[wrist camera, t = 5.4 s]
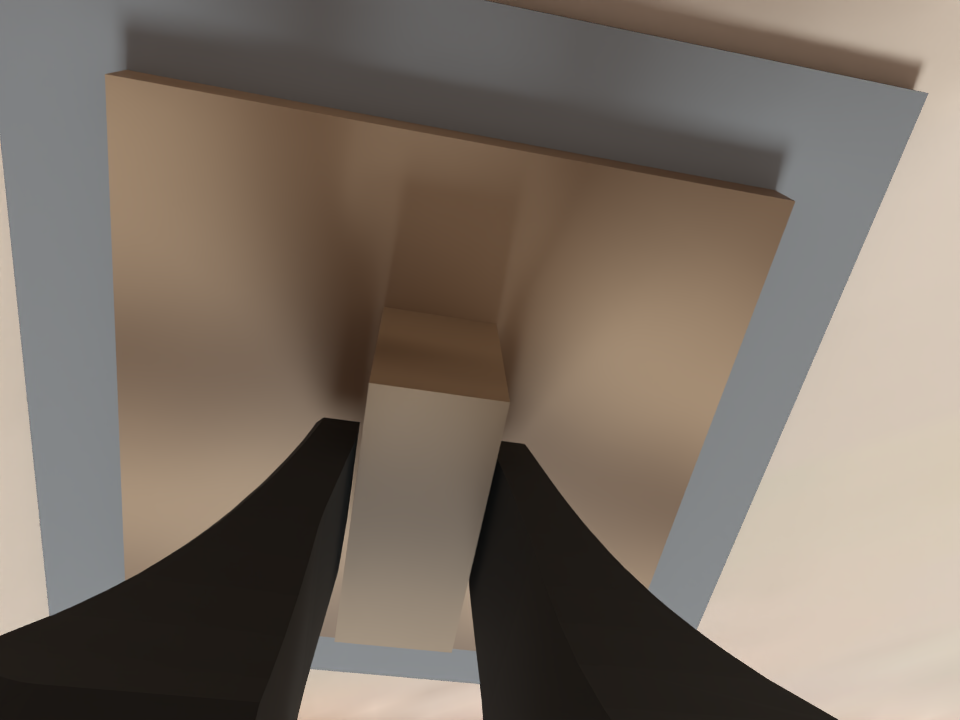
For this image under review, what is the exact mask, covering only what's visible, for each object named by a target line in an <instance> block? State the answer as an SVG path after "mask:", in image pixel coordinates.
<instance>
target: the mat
mask: <svg viewBox="0 0 960 720" xmlns="http://www.w3.org/2000/svg"><path fill="white" fill-rule="evenodd" d="M123 70H130V71H135V72H141V73H146V74H151V75H157V76H162V77H168V78H173V79H178V80H184V81H189V82H195V83H200V84H205V85H211V86H216V87H221V88H227V89H232V90H238V91H243V92H248V93H254V94H259V95H265V96H270V97H275V98H281V99H286V100H292V101H297V102H302V103H308V104H313V105H318V106H324V107H329V108H335V109H340V110H345V111H351V112H356V113H362V114H367V115H372V116H378V117H383V118H389V119H394V120H399V121H405V122H410V123H415V124H421V125H426V126H432V127H437V128H442V129H448V130H453V131H459V132H464V133H469V134H475V135H480V136H486V137H491V138H496V139H502V140H507V141H512V142H518V143H523V144H529V145H534V146H539V147H545V148H550V149H556V150H561V151H566V152H572V153H577V154H583V155H588V156H593V157H599V158H604V159H610V160H615V161H620V162H626V163H631V164H636V165H642V166H647V167H653V168H658V169H663V170H669V171H674V172H680V173H685V174H690V175H696V176H701V177H707V178H712V179H717V180H723V181H728V182H733V183H739V184H744V185H750V186H755V187H760V188H766V189H771V190H776V191H778V192H779V193H781V194H783V195H785V196H787V197H789V198H790V199H792V200H794V201H795V204H794V206H793V209H792V212H791V214H790V217H789V220H788V222H787V225H786V227H785V230H784V233H783V235H782V238H781V241H780V243H779V246H778V249H777V251H776V254H775V256H774V259H773V262H772V264H771V267H770V270H769V272H768V275H767V278H766V280H765V283H764V285H763V288H762V291H761V293H760V296H759V299H758V301H757V304H756V306H755V309H754V312H753V314H752V317H751V320H750V322H749V325H748V328H747V330H746V333H745V335H744V338H743V341H742V343H741V346H740V349H739V351H738V354H737V357H736V359H735V362H734V364H733V367H732V370H731V372H730V375H729V378H728V380H727V383H726V386H725V388H724V391H723V393H722V396H721V399H720V401H719V404H718V407H717V409H716V412H715V415H714V417H713V420H712V422H711V425H710V428H709V430H708V433H707V436H706V438H705V441H704V443H703V446H702V449H701V451H700V454H699V457H698V459H697V462H696V465H695V467H694V470H693V472H692V475H691V478H690V480H689V483H688V486H687V488H686V491H685V494H684V496H683V499H682V501H681V504H680V507H679V509H678V512H677V515H676V517H675V520H674V523H673V525H672V528H671V530H670V533H669V536H668V538H667V541H666V544H665V546H664V549H663V552H662V554H661V557H660V559H659V562H658V565H657V567H656V570H655V573H654V575H653V578H652V580H651V583H650V586H649V588H648V590H649V591H650V592H651V593H652V594H653V595H654V596H656V597H657V598H658V599H659V600H660V601H661V602H663V603H664V604H665V605H666V606H667V607H668V608H670V609H671V610H672V611H673V612H675V613H676V614H677V615H678V616H680V617H681V618H682V619H683V620H685V621H686V622H687V623H689V624H690V625H691V626H692V627H694V628H695V629H696V630H697V628H698V625H699V623H700V621H701V618H702V616H703V614H704V611H705V609H706V607H707V604H708V602H709V600H710V597H711V595H712V593H713V591H714V588H715V586H716V584H717V581H718V579H719V577H720V574H721V572H722V570H723V567H724V565H725V563H726V560H727V558H728V556H729V554H730V551H731V549H732V547H733V544H734V542H735V540H736V537H737V535H738V533H739V530H740V528H741V526H742V523H743V521H744V519H745V517H746V514H747V512H748V510H749V507H750V505H751V503H752V500H753V498H754V496H755V493H756V491H757V489H758V486H759V484H760V482H761V479H762V477H763V475H764V473H765V470H766V468H767V466H768V463H769V461H770V459H771V456H772V454H773V452H774V449H775V447H776V445H777V442H778V440H779V438H780V436H781V433H782V431H783V429H784V426H785V424H786V422H787V419H788V417H789V415H790V412H791V410H792V408H793V405H794V403H795V401H796V399H797V396H798V394H799V392H800V389H801V387H802V385H803V382H804V380H805V378H806V375H807V373H808V371H809V368H810V366H811V364H812V362H813V359H814V357H815V355H816V352H817V350H818V348H819V345H820V343H821V341H822V338H823V336H824V334H825V331H826V329H827V327H828V325H829V322H830V320H831V318H832V315H833V313H834V311H835V308H836V306H837V304H838V301H839V299H840V297H841V294H842V292H843V290H844V287H845V285H846V283H847V281H848V278H849V276H850V274H851V271H852V269H853V267H854V264H855V262H856V260H857V257H858V255H859V253H860V250H861V248H862V246H863V244H864V241H865V239H866V237H867V234H868V232H869V230H870V227H871V225H872V223H873V220H874V218H875V216H876V213H877V211H878V209H879V207H880V204H881V202H882V200H883V197H884V195H885V193H886V190H887V188H888V186H889V183H890V181H891V179H892V176H893V174H894V172H895V170H896V167H897V165H898V163H899V160H900V158H901V156H902V153H903V151H904V149H905V146H906V144H907V142H908V139H909V137H910V135H911V133H912V130H913V128H914V126H915V123H916V121H917V119H918V116H919V114H920V112H921V109H922V107H923V105H924V102H925V100H926V98H927V95H928V93H925V92H920V91H915V90H910V89H906V88H901V87H896V86H891V85H886V84H882V83H877V82H872V81H867V80H863V79H858V78H853V77H848V76H843V75H839V74H834V73H829V72H824V71H820V70H815V69H810V68H805V67H801V66H796V65H791V64H786V63H781V62H777V61H772V60H767V59H762V58H758V57H753V56H748V55H743V54H738V53H734V52H729V51H724V50H719V49H715V48H710V47H705V46H700V45H695V44H691V43H686V42H681V41H676V40H672V39H667V38H662V37H657V36H653V35H648V34H643V33H638V32H633V31H629V30H624V29H619V28H614V27H610V26H605V25H600V24H595V23H590V22H586V21H581V20H576V19H571V18H567V17H562V16H557V15H552V14H548V13H543V12H538V11H533V10H528V9H524V8H519V7H514V6H509V5H505V4H500V3H495V2H490V1H485V0H0V140H1V150H2V159H3V169H4V179H5V189H6V198H7V208H8V218H9V227H10V237H11V247H12V257H13V266H14V276H15V286H16V295H17V305H18V315H19V324H20V334H21V344H22V354H23V363H24V373H25V383H26V392H27V402H28V412H29V422H30V431H31V441H32V451H33V460H34V470H35V480H36V489H37V499H38V509H39V519H40V528H41V538H42V548H43V557H44V567H45V577H46V587H47V596H48V606H49V616H51V615H54V614H56V613H58V612H61V611H63V610H65V609H67V608H70V607H72V606H74V605H76V604H79V603H81V602H83V601H85V600H87V599H89V598H91V597H93V596H95V595H98V594H100V593H102V592H104V591H106V590H108V589H110V588H112V587H114V586H116V585H118V584H120V583H122V582H123V581H125V567H124V542H123V517H122V491H121V466H120V441H119V416H118V391H117V366H116V341H115V316H114V291H113V266H112V240H111V215H110V190H109V165H108V140H107V115H106V90H105V74H108V73H113V72H118V71H123ZM334 641H335V638H332V637H321V636H319V640H318V643H317V647H316V650H315V654H314V657H313V661H312V664H311V667H310V669H317V670H328V671H339V672H351V673H362V674H373V675H384V676H396V677H407V678H418V679H430V680H441V681H452V682H464V683H475V684H480V681H479V672H478V663H477V654H476V651H470V650H459V649H452V653H449V652H438V651H427V650H417V649H406V648H395V647H385V646H374V645H363V644H353V643H342V642H334Z"/></svg>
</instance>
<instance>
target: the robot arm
mask: <svg viewBox="0 0 960 720" xmlns="http://www.w3.org/2000/svg"><path fill="white" fill-rule="evenodd" d="M359 426H360V422H355V421H348V420H340V419H333V418H325V417H324V418H322V419H321V420H319V421H318V422H316V424H315V425H314V426H313V428H312V429H311V431H310V432H309V433H308V434H307V436H306V437H305V438H304V439H303V441H302V442H301V443H300V444H299V445H298V446H297V447H296V449H295V450H294V451H293V452H292V453H291V454H290V455H289V456H288V458H287V459H286V460H285V461H284V462H283V463H282V464H281V465H280V466H279V467H278V468H277V469H276V470H275V471H274V472H273V473H272V474H271V475H270V476H269V477H268V478H267V479H266V480H265V481H264V482H263V483H262V484H261V485H260V486H258V487H257V488H256V489H255V490H254V491H253V492H252V493H250V494H249V495H248V496H247V497H246V498H245V499H244V500H243V501H241V502H240V503H239V504H238V505H237V506H236V507H235V508H233V509H232V510H231V511H230V512H229V513H227V514H226V515H225V516H224V517H222V518H221V519H220V520H219V521H217V522H216V523H215V524H213V525H212V526H211V527H209V528H208V529H207V530H205V531H204V532H202V533H201V534H200V535H198V536H197V537H195V538H194V539H193V540H191V541H190V542H188V543H187V544H185V545H184V546H182V547H181V548H179V549H178V550H176V551H175V552H173V553H171V554H170V555H168V556H167V557H165V558H164V559H162V560H160V561H159V562H157V563H155V564H154V565H152V566H150V567H149V568H147V569H145V570H144V571H142V572H140V573H139V574H137V575H135V576H133V577H131V578H129V579H127V580H125V581H123V582H122V583H120V584H118V585H116V586H114V587H112V588H110V589H108V590H106V591H104V592H102V593H100V594H98V595H95V596H93V597H91V598H89V599H87V600H85V601H83V602H81V603H79V604H76V605H74V606H72V607H70V608H67V609H65V610H63V611H61V612H58V613H56V614H54V615H51V616H49V617H46V618H44V619H41V620H39V621H36V622H33V623H31V624H28V625H26V626H23V627H21V628H18V629H16V630H13V631H11V632H8V633H6V634H3V635H1V636H0V720H297V718H298V713H299V709H300V705H301V701H302V697H303V693H304V688H305V685H306V681H307V678H308V674H309V671H310V667H311V664H312V661H313V657H314V654H315V650H316V647H317V643H318V640H319V636H320V633H321V629H322V626H323V623H324V619H325V616H326V612H327V609H328V605H329V602H330V598H331V595H332V591H333V588H334V584H335V581H336V577H337V574H338V570H339V564H340V559H341V553H342V547H343V541H344V535H345V529H346V524H347V517H348V510H349V502H350V495H351V487H352V479H353V472H354V464H355V456H356V449H357V441H358V433H359ZM469 591H470V601H471V610H472V619H473V628H474V637H475V646H476V654H477V663H478V672H479V681H480V690H481V698H482V710H483V720H838V719H836V718H834V717H833V716H831V715H829V714H827V713H826V712H824V711H822V710H821V709H819V708H817V707H815V706H814V705H812V704H810V703H808V702H807V701H805V700H803V699H801V698H800V697H798V696H796V695H794V694H793V693H791V692H789V691H787V690H786V689H784V688H782V687H781V686H779V685H777V684H775V683H774V682H772V681H770V680H769V679H767V678H765V677H764V676H762V675H761V674H759V673H758V672H756V671H755V670H753V669H752V668H750V667H749V666H747V665H746V664H744V663H743V662H741V661H740V660H738V659H737V658H735V657H734V656H732V655H731V654H729V653H728V652H726V651H725V650H723V649H722V648H721V647H719V646H718V645H716V644H715V643H714V642H712V641H711V640H709V639H708V638H707V637H705V636H704V635H703V634H701V633H700V632H699V631H697V630H696V629H695V628H694V627H692V626H691V625H690V624H689V623H687V622H686V621H685V620H683V619H682V618H681V617H680V616H678V615H677V614H676V613H675V612H673V611H672V610H671V609H670V608H668V607H667V606H666V605H665V604H664V603H663V602H661V601H660V600H659V599H658V598H657V597H656V596H654V595H653V594H652V593H651V592H650V591H649V590H648V589H647V588H646V587H645V586H644V585H643V584H641V583H640V582H639V581H638V580H637V579H636V578H635V577H634V576H633V575H632V574H631V573H630V572H629V571H628V570H627V569H625V568H624V567H623V565H622V564H621V563H620V562H619V561H618V560H617V559H616V558H615V557H614V556H613V555H612V554H611V553H610V552H609V551H608V550H607V549H606V548H605V546H604V545H603V544H602V543H601V542H600V541H599V540H598V539H597V538H596V536H595V535H594V534H593V533H592V532H591V531H590V530H589V528H588V527H587V526H586V525H585V524H584V522H583V521H582V520H581V519H580V518H579V516H578V515H577V514H576V513H575V511H574V510H573V509H572V508H571V506H570V505H569V504H568V503H567V501H566V500H565V499H564V497H563V496H562V495H561V493H560V492H559V491H558V489H557V488H556V486H555V485H554V484H553V482H552V481H551V480H550V478H549V477H548V475H547V474H546V473H545V471H544V470H543V468H542V467H541V466H540V464H539V463H538V461H537V460H536V459H535V457H534V456H533V454H532V453H531V452H530V450H529V449H528V447H527V446H526V445H525V444H522V443H514V442H507V441H501V444H500V448H499V453H498V457H497V461H496V465H495V470H494V474H493V478H492V483H491V487H490V491H489V495H488V500H487V504H486V508H485V512H484V517H483V521H482V525H481V530H480V534H479V538H478V542H477V547H476V551H475V555H474V560H473V564H472V568H471V572H470V577H469Z"/></svg>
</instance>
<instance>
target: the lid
mask: <svg viewBox="0 0 960 720" xmlns="http://www.w3.org/2000/svg"><path fill="white" fill-rule="evenodd" d="M105 90H106V115H107V140H108V165H109V190H110V215H111V240H112V266H113V291H114V316H115V341H116V366H117V391H118V416H119V441H120V466H121V491H122V517H123V542H124V567H125V580H127V579H129V578H131V577H133V576H135V575H137V574H139V573H140V572H142V571H144V570H145V569H147V568H149V567H150V566H152V565H154V564H155V563H157V562H159V561H160V560H162V559H164V558H165V557H167V556H168V555H170V554H171V553H173V552H175V551H176V550H178V549H179V548H181V547H182V546H184V545H185V544H187V543H188V542H190V541H191V540H193V539H194V538H195V537H197V536H198V535H200V534H201V533H202V532H204V531H205V530H207V529H208V528H209V527H211V526H212V525H213V524H215V523H216V522H217V521H219V520H220V519H221V518H222V517H224V516H225V515H226V514H227V513H229V512H230V511H231V510H232V509H233V508H235V507H236V506H237V505H238V504H239V503H240V502H241V501H243V500H244V499H245V498H246V497H247V496H248V495H249V494H250V493H252V492H253V491H254V490H255V489H256V488H257V487H258V486H260V485H261V484H262V483H263V482H264V481H265V480H266V479H267V478H268V477H269V476H270V475H271V474H272V473H273V472H274V471H275V470H276V469H277V468H278V467H279V466H280V465H281V464H282V463H283V462H284V461H285V460H286V459H287V458H288V456H289V455H290V454H291V453H292V452H293V451H294V450H295V449H296V447H297V446H298V445H299V444H300V443H301V442H302V441H303V439H304V438H305V437H306V436H307V434H308V433H309V432H310V431H311V429H312V428H313V426H314V425H315V424H316V422H318V421H319V420H321V419H322V418H324V417H325V418H333V419H340V420H348V421H355V422H360V426H359V433H358V441H357V449H356V456H355V464H354V472H353V479H352V487H351V495H350V502H349V510H348V517H347V524H346V529H345V535H344V541H343V547H342V553H341V559H340V564H339V570H338V574H337V577H336V581H335V584H334V588H333V591H332V595H331V598H330V602H329V605H328V609H327V612H326V616H325V619H324V623H323V626H322V629H321V633H320V636H321V637H332V638H335V641H334V642H342V643H353V644H363V645H374V646H385V647H395V648H406V649H417V650H427V651H438V652H449V653H452V649H459V650H470V651H476V646H475V637H474V628H473V619H472V610H471V601H470V591H469V577H470V572H471V568H472V564H473V560H474V555H475V551H476V547H477V542H478V538H479V534H480V530H481V525H482V521H483V517H484V512H485V508H486V504H487V500H488V495H489V491H490V487H491V483H492V478H493V474H494V470H495V465H496V461H497V457H498V453H499V448H500V444H501V441H507V442H514V443H522V444H525V445H526V446H527V447H528V449H529V450H530V452H531V453H532V454H533V456H534V457H535V459H536V460H537V461H538V463H539V464H540V466H541V467H542V468H543V470H544V471H545V473H546V474H547V475H548V477H549V478H550V480H551V481H552V482H553V484H554V485H555V486H556V488H557V489H558V491H559V492H560V493H561V495H562V496H563V497H564V499H565V500H566V501H567V503H568V504H569V505H570V506H571V508H572V509H573V510H574V511H575V513H576V514H577V515H578V516H579V518H580V519H581V520H582V521H583V522H584V524H585V525H586V526H587V527H588V528H589V530H590V531H591V532H592V533H593V534H594V535H595V536H596V538H597V539H598V540H599V541H600V542H601V543H602V544H603V545H604V546H605V548H606V549H607V550H608V551H609V552H610V553H611V554H612V555H613V556H614V557H615V558H616V559H617V560H618V561H619V562H620V563H621V564H622V565H623V567H624V568H625V569H627V570H628V571H629V572H630V573H631V574H632V575H633V576H634V577H635V578H636V579H637V580H638V581H639V582H640V583H641V584H643V585H644V586H645V587H646V588H647V589H648V588H649V586H650V583H651V580H652V578H653V575H654V573H655V570H656V567H657V565H658V562H659V559H660V557H661V554H662V552H663V549H664V546H665V544H666V541H667V538H668V536H669V533H670V530H671V528H672V525H673V523H674V520H675V517H676V515H677V512H678V509H679V507H680V504H681V501H682V499H683V496H684V494H685V491H686V488H687V486H688V483H689V480H690V478H691V475H692V472H693V470H694V467H695V465H696V462H697V459H698V457H699V454H700V451H701V449H702V446H703V443H704V441H705V438H706V436H707V433H708V430H709V428H710V425H711V422H712V420H713V417H714V415H715V412H716V409H717V407H718V404H719V401H720V399H721V396H722V393H723V391H724V388H725V386H726V383H727V380H728V378H729V375H730V372H731V370H732V367H733V364H734V362H735V359H736V357H737V354H738V351H739V349H740V346H741V343H742V341H743V338H744V335H745V333H746V330H747V328H748V325H749V322H750V320H751V317H752V314H753V312H754V309H755V306H756V304H757V301H758V299H759V296H760V293H761V291H762V288H763V285H764V283H765V280H766V278H767V275H768V272H769V270H770V267H771V264H772V262H773V259H774V256H775V254H776V251H777V249H778V246H779V243H780V241H781V238H782V235H783V233H784V230H785V227H786V225H787V222H788V220H789V217H790V214H791V212H792V209H793V206H794V204H795V201H794V200H792V199H790V198H789V197H787V196H785V195H783V194H781V193H779V192H778V191H776V190H771V189H766V188H760V187H755V186H750V185H744V184H739V183H733V182H728V181H723V180H717V179H712V178H707V177H701V176H696V175H690V174H685V173H680V172H674V171H669V170H663V169H658V168H653V167H647V166H642V165H636V164H631V163H626V162H620V161H615V160H610V159H604V158H599V157H593V156H588V155H583V154H577V153H572V152H566V151H561V150H556V149H550V148H545V147H539V146H534V145H529V144H523V143H518V142H512V141H507V140H502V139H496V138H491V137H486V136H480V135H475V134H469V133H464V132H459V131H453V130H448V129H442V128H437V127H432V126H426V125H421V124H415V123H410V122H405V121H399V120H394V119H389V118H383V117H378V116H372V115H367V114H362V113H356V112H351V111H345V110H340V109H335V108H329V107H324V106H318V105H313V104H308V103H302V102H297V101H292V100H286V99H281V98H275V97H270V96H265V95H259V94H254V93H248V92H243V91H238V90H232V89H227V88H221V87H216V86H211V85H205V84H200V83H195V82H189V81H184V80H178V79H173V78H168V77H162V76H157V75H151V74H146V73H141V72H135V71H130V70H123V71H118V72H113V73H108V74H105Z"/></svg>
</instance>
